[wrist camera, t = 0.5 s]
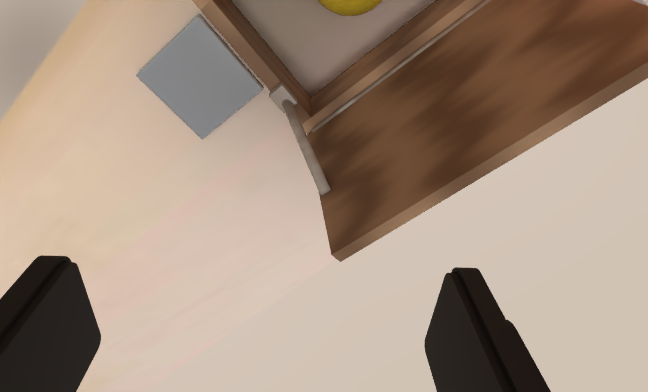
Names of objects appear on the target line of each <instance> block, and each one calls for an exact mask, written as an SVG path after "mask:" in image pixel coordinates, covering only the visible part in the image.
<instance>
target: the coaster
mask: <svg viewBox="0 0 648 392" xmlns="http://www.w3.org/2000/svg"><path fill="white" fill-rule="evenodd" d="M136 76H137V77H138V78H139V79H140V80H141V81H142V82H143V83H144V84H145V85H146V86H147V87H148V88H149V89H150V90H152V91H153V92H154V93H155V94H156V95H157V96H158V97H159V98H160V99H161V100H162V101H163V102H164V103H165V104H166V105H167V106H168V107H169V108H170V109H171V110H172V111H173V112H174V113H175V114H176V115H177V116H178V117H179V118H181V119H182V120H183V121H184V122H185V123H186V124H187V125H188V126H189V127H190V128H191V129H192V130H193V131H194V132H195V133H196V134H197V135H198V136H199V137H200V138H201V139H204V138H205V137H206V136H207V135H208V134H210V133H211V132H212V131H213V130H215V129H216V128H217V127H218V126H219V125H221V124H222V123H223V122H224V121H225V120H227V119H228V118H229V117H230V116H231V115H233V114H234V113H235V112H236V111H238V110H239V109H240V108H241V107H242V106H244V105H245V104H246V103H247V102H248V101H250V100H251V99H252V98H253V97H254V96H256V95H257V94H258V93H259V92H261V91H262V90H263V87H262V85H261V84H260V83H259V82H258V81H257V80H256V79H255V77H254V76H253V75H252V74H251V73H250V72H249V71H248V69H247V68H246V67H245V66H244V65H243V64H242V63H241V61H240V60H239V59H238V58H237V57H236V56H235V55H234V53H233V52H232V51H231V50H230V49H229V48H228V46H227V45H226V44H225V43H224V42H223V41H222V40H221V38H220V37H219V36H218V35H217V34H216V33H215V32H214V30H213V29H212V28H211V27H210V26H209V25H208V24H207V22H206V21H205V20H204V19H203V18H202V17H201V16H200V14H199V15H198V16H197V17H196V18H194V19H193V20H192V21H191V22H190V23H189V24H188V25H187V26H186V27H185V28H184V29H183V30H182V31H181V32H180V33H179V34H178V35H177V36H176V37H175V38H174V39H173V40H172V41H171V42H170V43H169V44H168V45H167V46H166V47H165V48H163V49H162V50H161V51H160V52H159V53H158V54H157V55H156V56H155V57H154V58H153V59H152V60H151V61H150V62H149V63H148V64H147V65H146V66H145V67H144V68H143V69H142V70H141V71H140V72H139V73H138V74H137V75H136Z"/></svg>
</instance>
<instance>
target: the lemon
mask: <svg viewBox="0 0 648 392" xmlns="http://www.w3.org/2000/svg"><path fill="white" fill-rule="evenodd" d="M381 1H382V0H319V2H320V3H321V4H322V5H323V6H325V7H326V8H327V9H329V10H330V11H332V12H335V13H337V14H340V15H347V16H354V15H360V14H363V13H366V12H368V11H370V10H372V9H373V8H374V7H376V6H377V5H378V4H379V3H381Z"/></svg>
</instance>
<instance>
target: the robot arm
mask: <svg viewBox="0 0 648 392" xmlns="http://www.w3.org/2000/svg"><path fill="white" fill-rule="evenodd" d="M100 341H101V334H100V331H99V328H98V325H97V322H96V319H95V316H94V313H93V310H92V307H91V304H90V301H89V298H88V295H87V292H86V289H85V286H84V283H83V280H82V277H81V274H80V271H79V268H78V266H77V264H76V263H73V262H71V260H70V259H69V258H68V257H66V256H39V257H37V258H36V259H35V260H34V261H33V262H32V263H31V264H30V266H29V267H28V268H27V269H26V270H25V271H24V272H23V274H22V275H21V276H20V277H19V278H18V279H17V281H16V282H15V283H14V284H13V285H12V286H11V287H10V289H9V290H8V291H7V292H6V293H5V294H4V295H3V297H2V298H1V299H0V392H76V391H77V389H78V387H79V385H80V383H81V381H82V379H83V377H84V375H85V373H86V372H87V370H88V368H89V366H90V364H91V362H92V360H93V358H94V356H95V354H96V352H97V350H98V348H99V345H100ZM425 352H426V356H427V359H428V362H429V366H430V369H431V373H432V376H433V379H434V383H435V386H436V389H437V392H551V391H550V389H549V388H548V386H547V384H546V382H545V380H544V378H543V377H542V375H541V373H540V371H539V369H538V368H537V366H536V364H535V362H534V360H533V359H532V357H531V355H530V353H529V351H528V350H527V348H526V346H525V344H524V342H523V340H522V339H521V337H520V335H519V333H518V331H517V330H516V328H515V327H514V325H513V324H512V323H511V322H510V321H509V320H506V319H505V317H504V315H503V313H502V312H501V310H500V308H499V306H498V304H497V302H496V300H495V299H494V297H493V295H492V293H491V291H490V290H489V287H488V286H487V284H486V282H485V280H484V278H483V276H482V274H481V273H480V271H479V270H478V269H477V268H454V269H453V270H452V272H451V273H447V274H446V275H445V277H444V281H443V284H442V287H441V291H440V293H439V297H438V300H437V303H436V306H435V309H434V312H433V316H432V319H431V322H430V325H429V328H428V332H427V335H426V338H425Z"/></svg>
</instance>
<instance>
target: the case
mask: <svg viewBox="0 0 648 392" xmlns="http://www.w3.org/2000/svg"><path fill="white" fill-rule="evenodd" d="M192 1H193V2H194V3H195V4H196V6H197V7H198V8H199V9H200V10H201V11H202V13H203V14H204V15H205V16H206V17H207V18H208V19H209V21H210V22H211V23H212V24H213V25H214V26H215V28H216V29H217V30H218V31H219V32H220V33H221V34H222V36H223V37H224V38H225V39H226V40H227V41H228V43H229V44H230V45H231V46H232V47H233V48H234V49H235V51H236V52H237V53H238V54H239V55H240V56H241V58H242V59H243V60H244V61H245V62H246V63H247V64H248V66H249V67H250V68H251V69H252V70H253V71H254V73H255V74H256V75H257V76H258V77H259V78H260V79H261V81H262V82H263V83H264V84H265V85H266V86H267V88H268V89H269V90H270V91H271V92H270V94H269V97H270V98H271V99H272V100H273V101H274V102H275V103H276V105H277V106H278V107H279V108H280V109H281V110H282V111H283V113H286V115H287V117H288V120H289V122H290V124H291V127H292V129H293V131H294V134H295V136H296V139H297V141H298V143H299V146H300V148H301V150H302V153H303V155H304V157H305V160H306V162H307V164H308V167H309V169H310V171H311V174H312V176H313V178H314V181H315V183H316V185H317V188H318V190H319V195H320V200H321V205H322V210H323V215H324V220H325V225H326V229H327V234H328V239H329V244H330V249H331V254H332V256H334V257H335V258H336V259H337V260H339V261H340V262H341V261H343V260H344V259H346V258H348V257H349V256H351V255H353V254H354V253H356V252H358V251H359V250H361V249H363V248H364V247H366V246H368V245H370V244H371V243H373V242H374V241H376V240H378V239H379V238H381V237H383V236H384V235H386V234H388V233H389V232H391V231H393V230H394V229H396V228H398V227H399V226H401V225H403V224H405V223H406V222H408V221H410V220H411V219H413V218H414V217H416V216H418V215H419V214H421V213H423V212H425V211H426V210H428V209H430V208H431V207H433V206H435V205H436V204H438V203H440V202H441V201H443V200H445V199H446V198H448V197H450V196H451V195H453V194H455V193H456V192H458V191H460V190H461V189H463V188H465V187H466V186H468V185H470V184H471V183H473V182H475V181H476V180H478V179H480V178H481V177H483V176H485V175H486V174H488V173H490V172H491V171H493V170H494V169H497V168H498V167H500V166H501V165H503V164H505V163H507V162H508V161H510V160H512V159H513V158H515V157H517V156H518V155H520V154H521V153H523V152H525V151H526V150H528V149H530V148H531V147H533V146H535V145H536V144H538V143H540V142H542V141H543V140H545V139H547V138H548V137H550V136H552V135H553V134H555V133H556V132H558V131H560V130H562V129H563V128H565V127H567V126H568V125H570V124H572V123H573V122H575V121H577V120H578V119H580V118H582V117H583V116H585V115H587V114H588V113H590V112H591V111H593V110H595V109H597V108H598V107H600V106H602V105H603V104H605V103H607V102H608V101H610V100H612V99H613V98H615V97H617V96H618V95H620V94H622V93H623V92H625V91H627V90H628V89H630V88H632V87H633V86H635V85H637V84H639V83H640V82H642V81H643V80H645V79H647V78H648V6H646V5H643V4H641V3H638V2H635V1H632V0H436V1H435V2H433V3H432V4H431V5H430V6H428V7H427V8H426V9H424V10H423V11H422V12H421V13H419V14H418V15H417V16H415V17H414V18H413V19H412V20H410V21H409V22H408V23H406V24H405V25H404V26H403V27H401V28H400V29H399V30H397V31H396V32H395V33H394V34H392V35H391V36H390V37H388V38H387V39H386V40H385V41H383V42H382V43H381V44H379V45H378V46H377V47H376V48H374V49H373V50H372V51H370V52H369V53H368V54H367V55H365V56H364V57H363V58H361V59H360V60H359V61H358V62H356V63H355V64H354V65H352V66H351V67H350V68H349V69H347V70H346V71H345V72H343V73H342V74H341V75H340V76H338V77H337V78H336V79H334V80H333V81H332V82H331V83H329V84H328V85H327V86H325V87H324V88H323V89H322V90H320V91H319V92H318V93H317V94H315V95H314V96H313V97H311V98H310V96H309V95H308V94H307V93H306V92H305V90H304V89H303V88H302V87H301V85H300V84H299V83H298V82H297V81H296V79H295V78H294V77H293V76H292V74H291V73H290V72H289V71H288V70H287V68H286V67H285V66H284V65H283V63H282V62H281V61H280V60H279V59H278V57H277V56H276V55H275V54H274V52H273V51H272V50H271V49H270V48H269V46H268V45H267V44H266V43H265V41H264V40H263V39H262V38H261V37H260V35H259V34H258V33H257V32H256V30H255V29H254V28H253V27H252V26H251V24H250V23H249V22H248V21H247V19H246V18H245V17H244V16H243V15H242V13H241V12H240V11H239V10H238V8H237V7H236V6H235V5H234V4H233V2H232V1H231V0H192ZM304 130H305V131H306V133H307V134H308V135H306V133H305V131H304ZM307 136H308V137H307Z"/></svg>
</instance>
